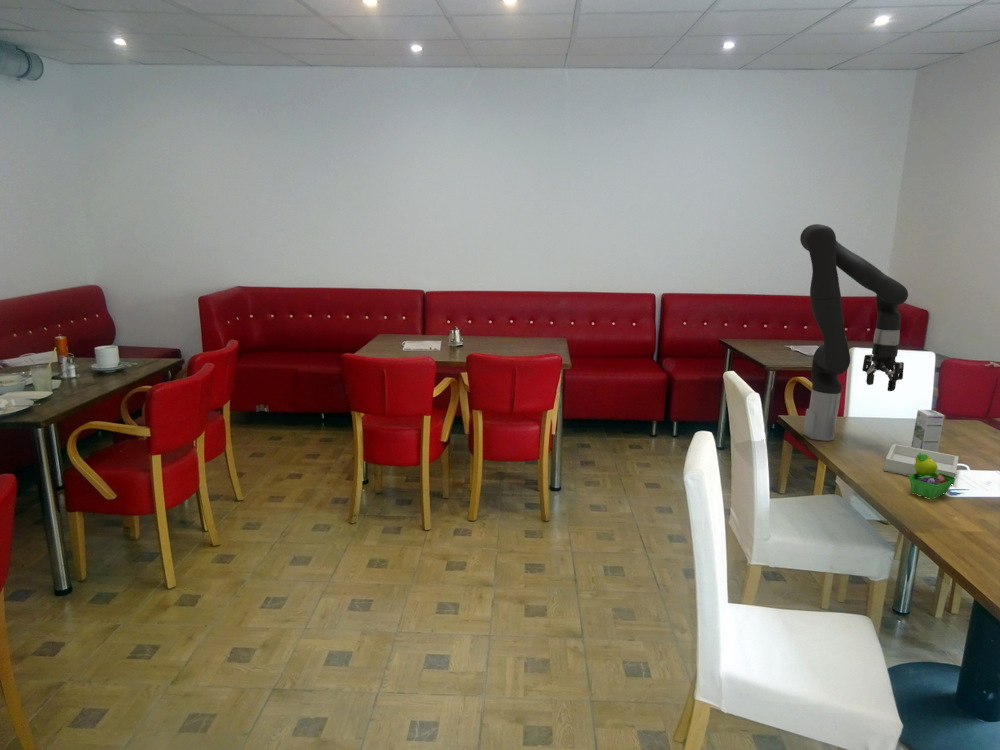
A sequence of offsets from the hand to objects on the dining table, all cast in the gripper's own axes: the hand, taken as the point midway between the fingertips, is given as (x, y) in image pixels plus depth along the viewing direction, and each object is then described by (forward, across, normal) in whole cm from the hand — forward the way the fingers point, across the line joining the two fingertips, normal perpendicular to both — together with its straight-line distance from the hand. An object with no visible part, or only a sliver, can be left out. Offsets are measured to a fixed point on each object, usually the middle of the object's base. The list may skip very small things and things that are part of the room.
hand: (880, 387), depth 225 cm
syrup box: (+20, +14, +6) cm, 25 cm away
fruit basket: (+19, +40, -23) cm, 50 cm away
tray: (+19, +26, -8) cm, 33 cm away
